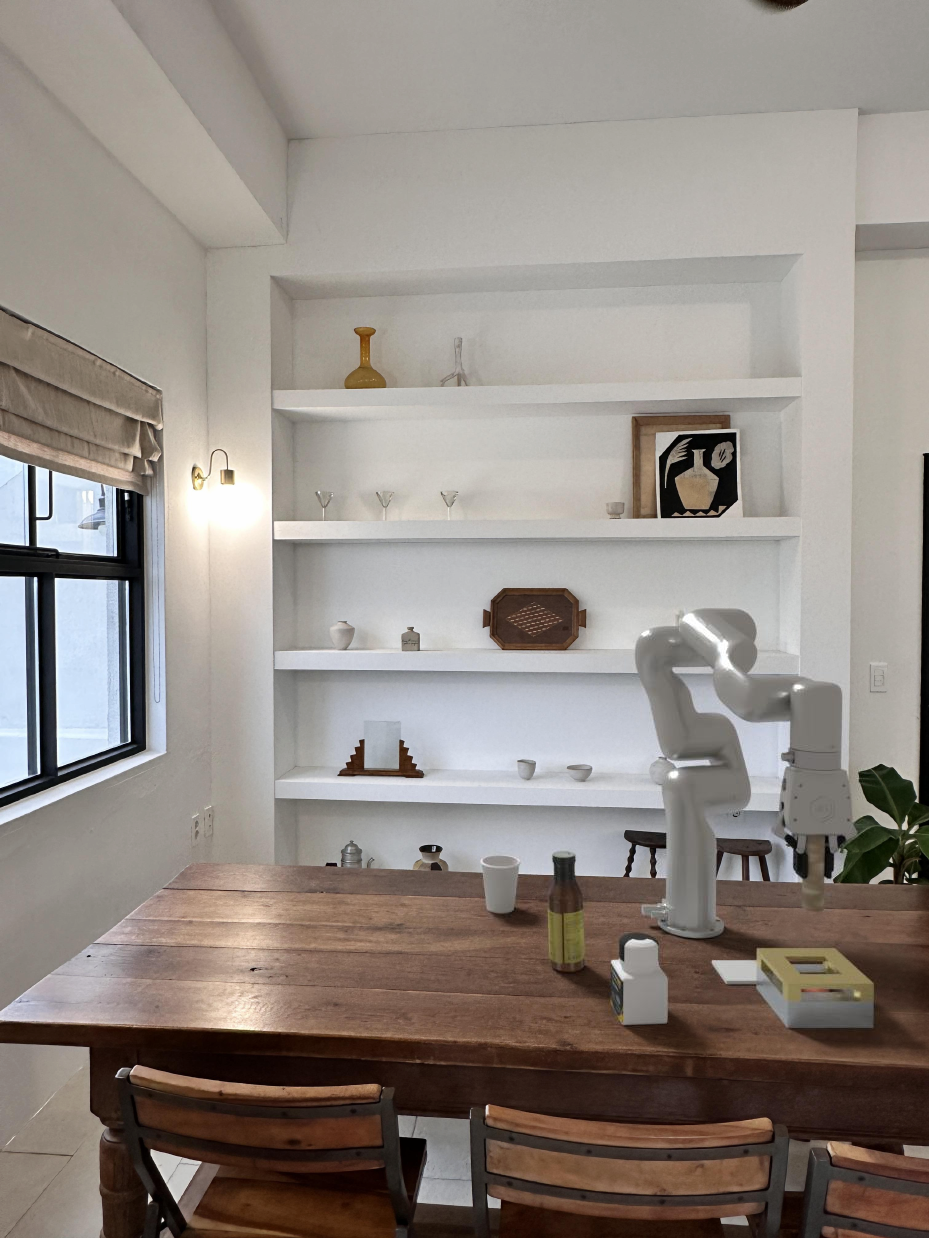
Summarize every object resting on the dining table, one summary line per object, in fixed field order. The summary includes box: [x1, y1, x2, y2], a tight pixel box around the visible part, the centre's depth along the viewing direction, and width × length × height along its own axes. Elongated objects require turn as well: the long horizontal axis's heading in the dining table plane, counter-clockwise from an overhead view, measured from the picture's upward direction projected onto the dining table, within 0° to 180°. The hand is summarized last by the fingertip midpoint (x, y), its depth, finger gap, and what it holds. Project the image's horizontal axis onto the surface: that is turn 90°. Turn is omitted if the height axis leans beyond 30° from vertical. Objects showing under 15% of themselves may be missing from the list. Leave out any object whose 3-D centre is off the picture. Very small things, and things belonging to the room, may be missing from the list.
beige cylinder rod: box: [801, 835, 825, 913], centre depth 133 cm, size 3×3×15 cm
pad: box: [711, 959, 757, 985], centre depth 145 cm, size 8×8×1 cm
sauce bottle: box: [547, 850, 586, 973], centre depth 148 cm, size 6×6×20 cm
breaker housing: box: [755, 947, 875, 1029], centre depth 133 cm, size 13×13×7 cm
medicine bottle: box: [609, 931, 669, 1026], centre depth 131 cm, size 7×7×12 cm
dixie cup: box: [480, 854, 521, 914], centre depth 176 cm, size 8×8×10 cm
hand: (813, 874), depth 133 cm, fingers closed on beige cylinder rod, 3 cm apart
